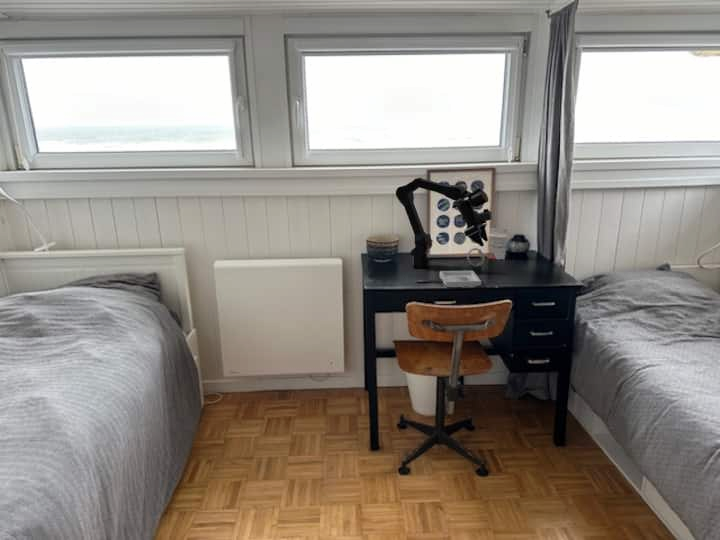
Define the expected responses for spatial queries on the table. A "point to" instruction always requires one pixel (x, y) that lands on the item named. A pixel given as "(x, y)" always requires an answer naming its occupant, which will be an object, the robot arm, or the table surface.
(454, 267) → the table surface
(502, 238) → the ink cartridge box
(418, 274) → the table surface
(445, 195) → the robot arm
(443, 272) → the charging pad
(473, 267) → the watch
